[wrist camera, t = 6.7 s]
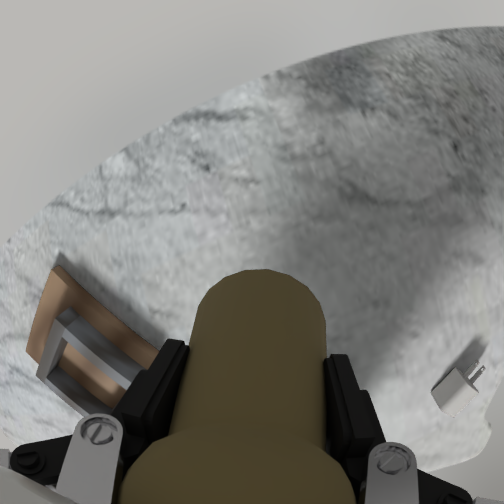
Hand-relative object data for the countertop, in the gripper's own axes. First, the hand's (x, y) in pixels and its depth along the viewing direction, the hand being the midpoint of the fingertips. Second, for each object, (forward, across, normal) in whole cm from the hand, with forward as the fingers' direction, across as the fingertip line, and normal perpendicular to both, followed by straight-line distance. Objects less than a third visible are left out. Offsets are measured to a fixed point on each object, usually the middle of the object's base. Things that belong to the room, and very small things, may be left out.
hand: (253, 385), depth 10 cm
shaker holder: (+17, +19, +15) cm, 30 cm away
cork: (+4, 0, 0) cm, 4 cm away
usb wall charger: (+18, -25, +13) cm, 33 cm away
